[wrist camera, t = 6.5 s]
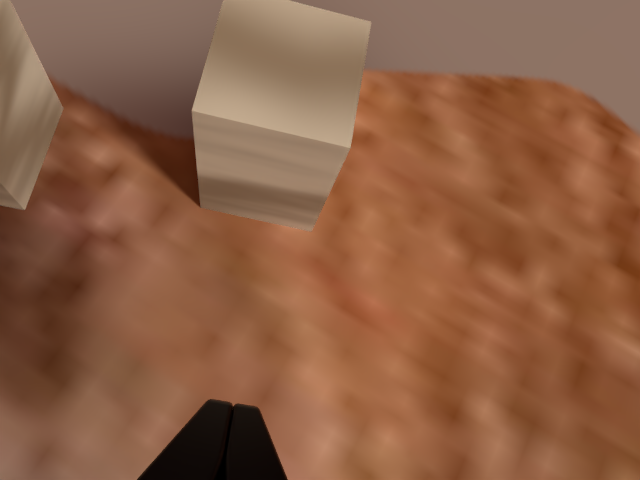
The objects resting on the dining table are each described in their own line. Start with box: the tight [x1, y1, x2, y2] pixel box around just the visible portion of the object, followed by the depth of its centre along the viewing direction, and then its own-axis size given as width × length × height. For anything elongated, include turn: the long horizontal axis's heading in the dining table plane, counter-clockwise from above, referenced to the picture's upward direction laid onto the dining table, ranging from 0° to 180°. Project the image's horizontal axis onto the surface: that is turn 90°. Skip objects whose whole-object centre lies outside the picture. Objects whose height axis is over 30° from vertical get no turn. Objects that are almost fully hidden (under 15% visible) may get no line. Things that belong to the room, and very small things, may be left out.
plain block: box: [192, 0, 371, 232], centre depth 22 cm, size 5×5×8 cm
